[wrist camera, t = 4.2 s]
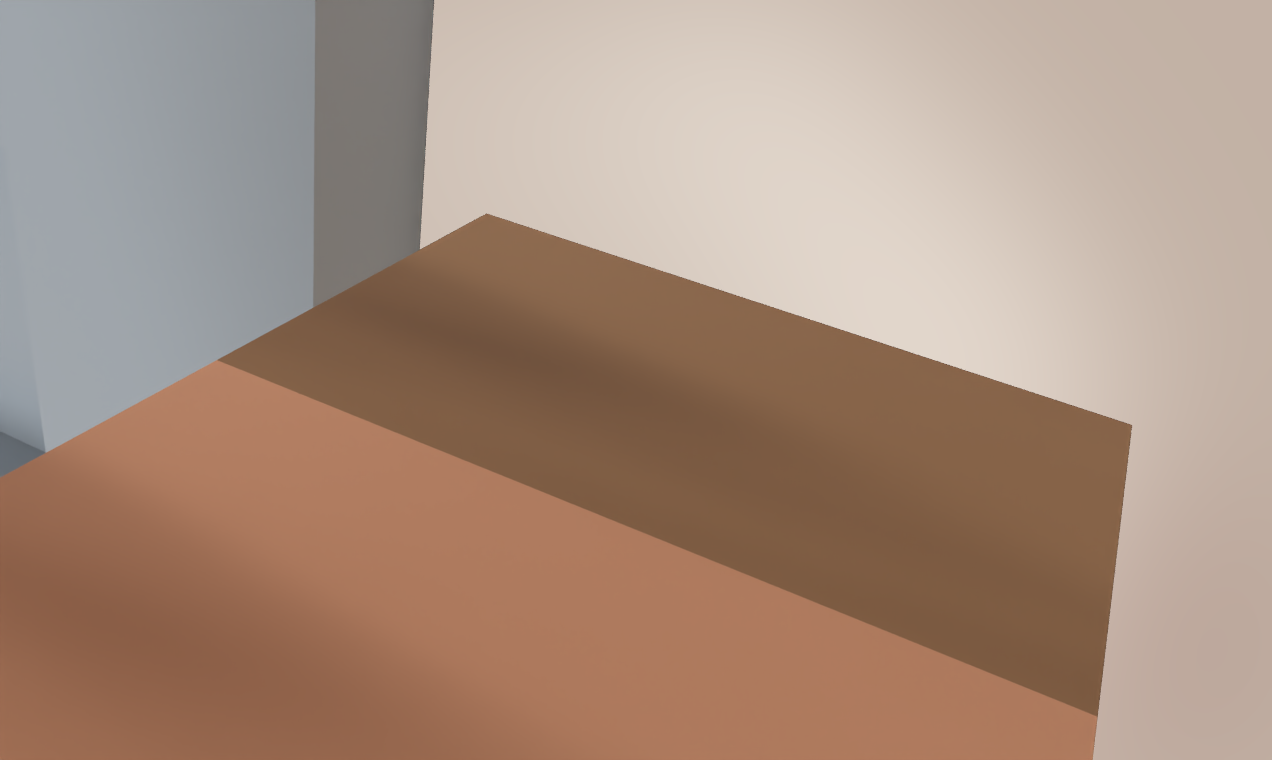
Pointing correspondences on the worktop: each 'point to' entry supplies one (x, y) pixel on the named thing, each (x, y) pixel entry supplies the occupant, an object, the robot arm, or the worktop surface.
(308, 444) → the brown block
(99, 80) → the socket board
